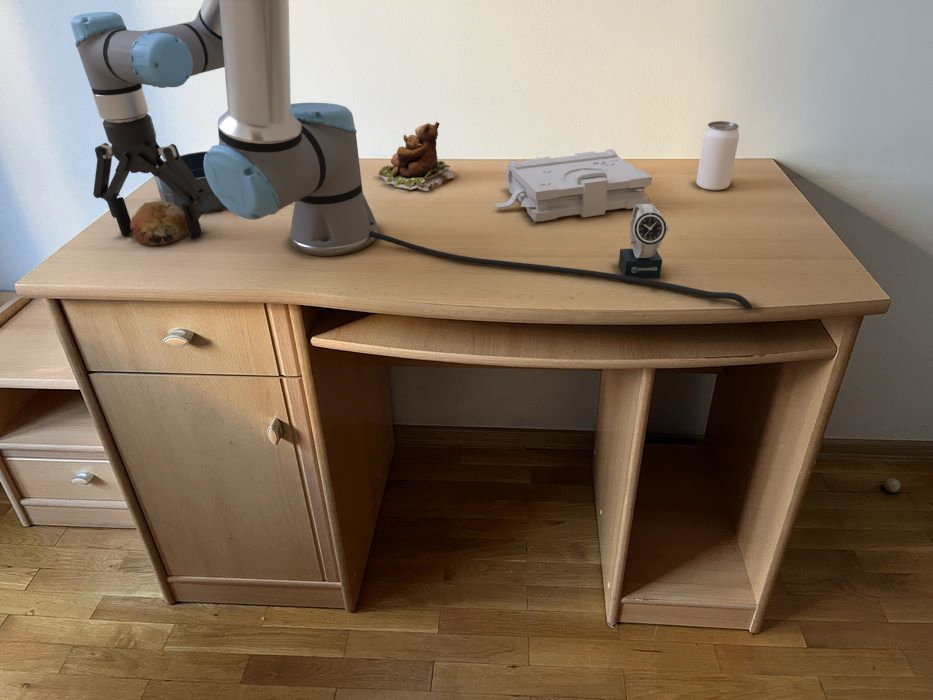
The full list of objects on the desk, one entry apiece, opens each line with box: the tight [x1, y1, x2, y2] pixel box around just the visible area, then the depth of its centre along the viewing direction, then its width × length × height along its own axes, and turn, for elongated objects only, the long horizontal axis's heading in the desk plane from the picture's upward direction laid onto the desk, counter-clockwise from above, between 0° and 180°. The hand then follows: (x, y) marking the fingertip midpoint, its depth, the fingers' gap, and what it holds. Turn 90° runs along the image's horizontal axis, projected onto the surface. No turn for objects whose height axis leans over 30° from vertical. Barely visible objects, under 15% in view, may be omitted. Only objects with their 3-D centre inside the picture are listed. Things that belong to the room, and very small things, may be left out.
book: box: [493, 148, 652, 223], centre depth 129 cm, size 19×28×8 cm
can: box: [695, 120, 740, 192], centre depth 133 cm, size 6×6×12 cm
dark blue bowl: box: [153, 150, 227, 214], centre depth 137 cm, size 17×17×7 cm
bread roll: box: [130, 200, 189, 246], centre depth 123 cm, size 10×10×8 cm
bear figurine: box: [378, 120, 455, 192], centre depth 141 cm, size 14×15×12 cm
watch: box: [617, 203, 670, 279], centre depth 103 cm, size 6×8×11 cm
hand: (162, 234), depth 124 cm, fingers open, 13 cm apart
